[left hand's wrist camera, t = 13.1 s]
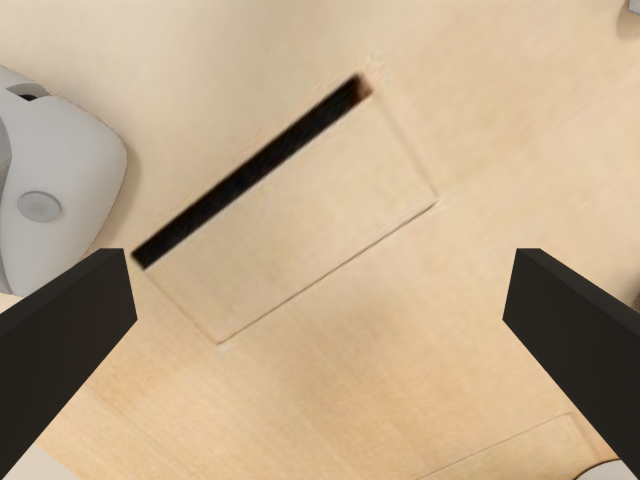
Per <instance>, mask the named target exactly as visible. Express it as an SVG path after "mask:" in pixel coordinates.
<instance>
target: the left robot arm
mask: <svg viewBox="0 0 640 480" xmlns="http://www.w3.org/2000/svg"><path fill="white" fill-rule="evenodd" d="M137 320H138V319H137V314H136V309H135V304H134V299H133V294H132V289H131V284H130V279H129V274H128V269H127V265H126V260H125V255H124V250H123V248H100V249H99V250H97V251H96V252H94V253H93V254H91V255H90V256H88V257H86V258H85V259H83V260H82V261H80V262H79V263H77V264H76V265H74V266H73V267H71V268H70V269H68V270H67V271H65V272H64V273H62V274H61V275H59V276H57V277H56V278H54V279H53V280H51V281H50V282H48V283H47V284H45V285H44V286H42V287H41V288H39V289H38V290H36V291H35V292H33V293H32V294H30V295H28V296H27V297H25V298H24V299H22V300H21V301H19V302H18V303H16V304H15V305H13V306H12V307H10V308H9V309H7V310H6V311H4V312H3V313H1V314H0V480H2V479H3V478H4V477H5V476H6V474H7V473H8V472H9V471H10V470H11V468H12V467H13V466H14V465H15V464H16V463H17V461H18V460H19V459H20V458H21V457H22V455H23V454H24V453H25V452H26V451H27V450H28V448H29V447H30V446H31V445H32V444H33V443H34V441H35V440H36V439H37V438H38V437H39V435H40V434H41V433H42V432H43V431H44V430H45V428H46V427H47V426H48V425H49V424H50V422H51V421H52V420H53V419H54V418H55V417H56V415H57V414H58V413H59V412H60V411H61V409H62V408H63V407H64V406H65V405H66V404H67V402H68V401H69V400H70V399H71V398H72V397H73V395H74V394H75V393H76V392H77V391H78V389H79V388H80V387H81V386H82V385H83V384H84V382H85V381H86V380H87V379H88V378H89V376H90V375H91V374H92V373H93V372H94V371H95V369H96V368H97V367H98V366H99V365H100V363H101V362H102V361H103V360H104V359H105V358H106V356H107V355H108V354H109V353H110V352H111V350H112V349H113V348H114V347H115V346H116V345H117V343H118V342H119V341H120V340H121V339H122V337H123V336H124V335H125V334H126V333H127V332H128V330H129V329H130V328H131V327H132V326H133V325H134V323H135V322H136V321H137ZM502 320H503V321H504V322H505V323H506V325H507V326H508V327H509V328H510V329H511V330H512V332H513V333H514V334H515V335H516V336H517V337H518V339H519V340H520V341H521V342H522V343H523V345H524V346H525V347H526V348H527V349H528V350H529V352H530V353H531V354H532V355H533V356H534V358H535V359H536V360H537V361H538V362H539V363H540V365H541V366H542V367H543V368H544V369H545V371H546V372H547V373H548V374H549V375H550V376H551V378H552V379H553V380H554V381H555V382H556V384H557V385H558V386H559V387H560V388H561V389H562V391H563V392H564V393H565V394H566V395H567V397H568V398H569V399H570V400H571V401H572V402H573V404H574V405H575V406H576V407H577V408H578V409H579V411H580V412H581V413H582V414H583V415H584V417H585V418H586V419H587V420H588V421H589V422H590V424H591V425H592V426H593V427H594V428H595V430H596V431H597V432H598V433H599V434H600V435H601V437H602V438H603V439H604V440H605V441H606V443H607V444H608V445H609V446H610V447H611V448H612V450H613V451H614V452H615V453H616V454H617V456H618V457H619V458H620V459H621V460H622V461H623V463H624V464H625V465H626V466H627V467H628V469H629V470H630V471H631V472H632V473H633V474H634V476H635V477H636V478H637V479H638V480H640V314H639V313H637V312H636V311H634V310H633V309H631V308H630V307H628V306H627V305H625V304H624V303H622V302H621V301H619V300H618V299H616V298H615V297H613V296H612V295H610V294H608V293H607V292H605V291H604V290H602V289H601V288H599V287H598V286H596V285H595V284H593V283H592V282H590V281H589V280H587V279H586V278H584V277H583V276H581V275H579V274H578V273H576V272H575V271H573V270H572V269H570V268H569V267H567V266H566V265H564V264H563V263H561V262H560V261H558V260H557V259H555V258H554V257H552V256H550V255H549V254H547V253H546V252H544V251H543V250H541V249H540V248H517V250H516V255H515V260H514V265H513V269H512V274H511V279H510V284H509V289H508V294H507V299H506V304H505V309H504V314H503V319H502Z"/></svg>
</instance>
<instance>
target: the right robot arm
mask: <svg viewBox="0 0 640 480" xmlns="http://www.w3.org/2000/svg"><path fill="white" fill-rule="evenodd" d="M576 480H638V479H637V478H636V477H635V476H634V474H633V473H632V472H631V471H630V470H629V469H628V467H627V466H626V465H625V464H624V463H623V461H622V460H616V461H611V462H608V463H604V464H601V465H599V466H596V467H594V468H592V469H590V470H589V471H587V472H585V473H584V474H583V475H581V476H580V477H579V478H578V479H576Z"/></svg>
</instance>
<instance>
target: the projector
mask: <svg viewBox="0 0 640 480" xmlns="http://www.w3.org/2000/svg"><path fill="white" fill-rule="evenodd" d="M126 166H127V151H126V148H125V146H124V144H123V142H122V140H121V139H120V138H119V136H118V135H117V134H116V133H115V132H114V131H113V130H112V129H111V128H110V127H109V126H107V125H106V124H105V123H103V122H102V121H101V120H99V119H98V118H96V117H95V116H93V115H91V114H90V113H88V112H87V111H85V110H83V109H82V108H80V107H78V106H77V105H75V104H73V103H71V102H70V101H68V100H66V99H64V98H62V97H59V96H49V94H48V92H47V91H46V89H45V88H44V87H42V86H41V85H39V84H37V83H35V82H33V81H31V80H30V79H28V78H26V77H24V76H22V75H20V74H18V73H16V72H14V71H12V70H10V69H8V68H5V67H3V66H0V292H1V293H5V294H10V295H15V296H20V297H27V296H28V295H30V294H32V293H33V292H35V291H36V290H38V289H39V288H41V287H42V286H44V285H45V284H47V283H48V282H50V281H51V280H53V279H54V278H56V277H57V276H59V275H61V274H62V273H64V272H65V271H67V270H68V269H70V268H71V267H73V266H74V265H75V264H76V263H77V262H78V261H79V259H80V258H81V257H82V256H83V254H84V253H85V252H86V251H87V249H88V248H89V246H90V245H91V243H92V242H93V240H94V239H95V238H96V236H97V234H98V233H99V231H100V229H101V227H102V226H103V224H104V222H105V220H106V218H107V216H108V214H109V212H110V210H111V208H112V206H113V204H114V202H115V199H116V197H117V195H118V192H119V190H120V187H121V184H122V182H123V178H124V175H125V171H126Z"/></svg>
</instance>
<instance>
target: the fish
mask: <svg viewBox="0 0 640 480" xmlns="http://www.w3.org/2000/svg"><path fill="white" fill-rule="evenodd" d="M628 12H631V13H634V14H636V15H640V0H629V2H628Z"/></svg>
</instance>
